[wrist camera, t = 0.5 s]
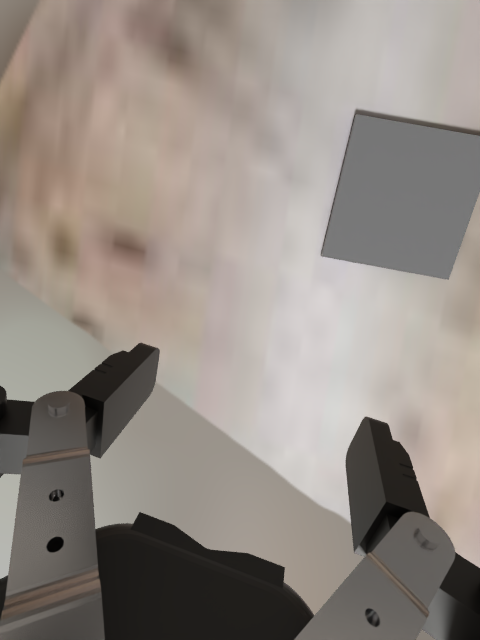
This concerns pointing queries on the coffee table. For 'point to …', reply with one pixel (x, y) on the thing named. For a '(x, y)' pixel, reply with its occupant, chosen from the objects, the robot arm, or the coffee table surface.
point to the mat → (404, 196)
